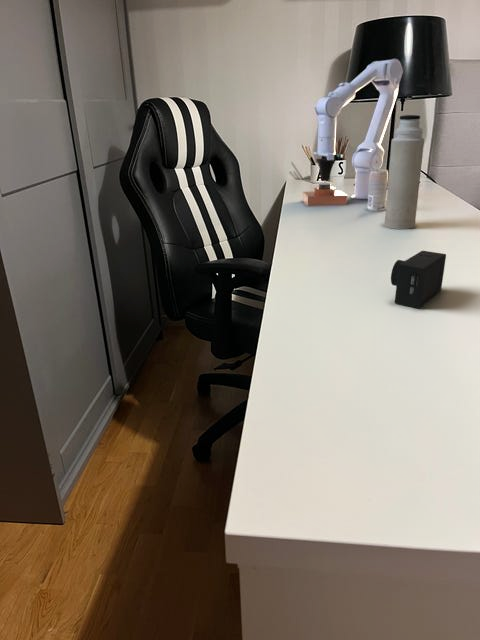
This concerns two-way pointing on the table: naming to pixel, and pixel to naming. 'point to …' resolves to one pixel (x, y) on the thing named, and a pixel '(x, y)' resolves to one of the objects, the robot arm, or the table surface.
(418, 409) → the table surface
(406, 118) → the thermos bottle
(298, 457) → the table surface
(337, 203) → the orange stepped block
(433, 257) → the digital camera
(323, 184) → the lid button
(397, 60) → the robot arm
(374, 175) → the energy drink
